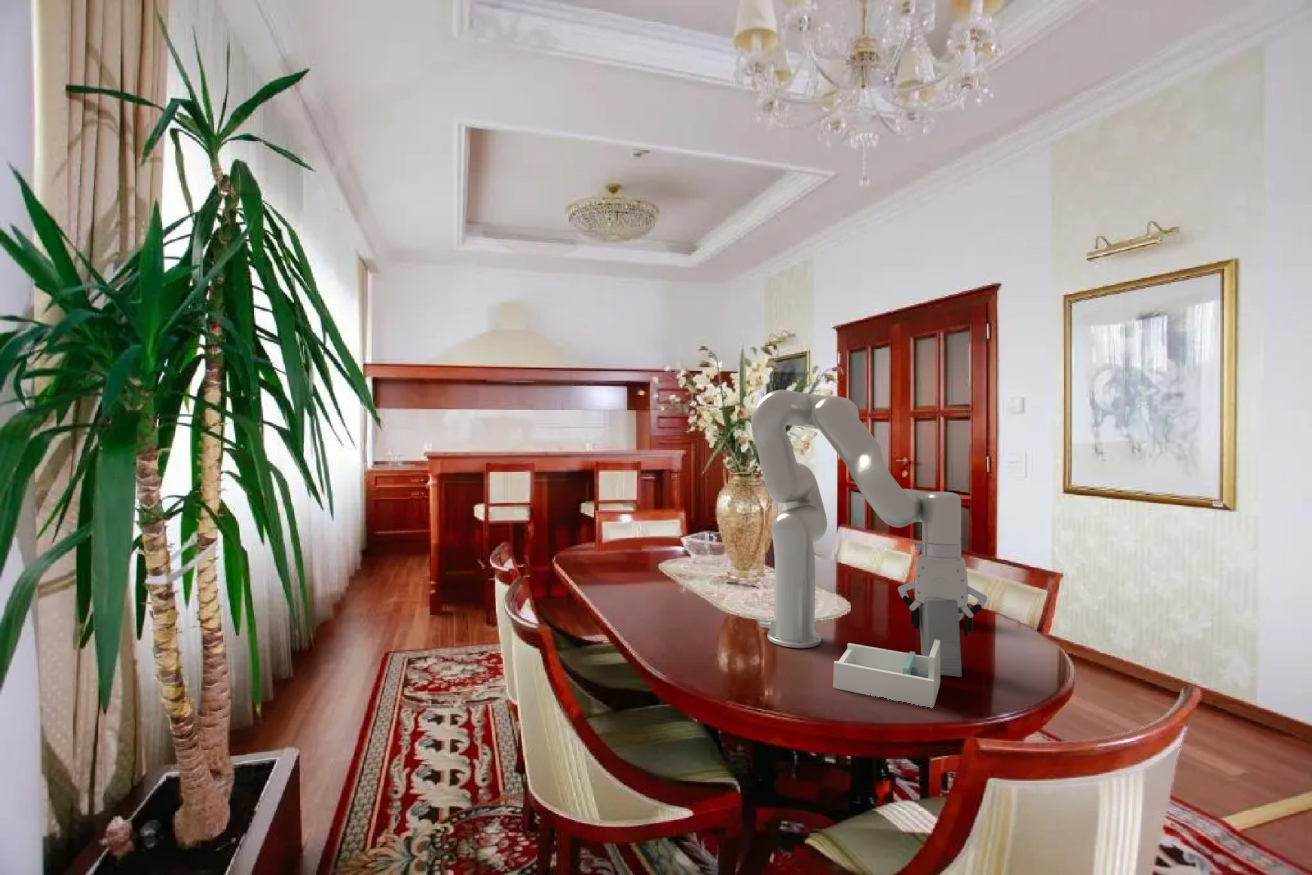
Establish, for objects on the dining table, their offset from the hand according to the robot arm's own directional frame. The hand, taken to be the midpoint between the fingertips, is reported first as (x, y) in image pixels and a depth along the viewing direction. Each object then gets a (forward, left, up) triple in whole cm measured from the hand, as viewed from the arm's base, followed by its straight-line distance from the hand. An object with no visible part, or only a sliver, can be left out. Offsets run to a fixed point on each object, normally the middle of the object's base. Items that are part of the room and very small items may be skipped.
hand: (941, 631), depth 134 cm
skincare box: (0, 0, -8) cm, 8 cm away
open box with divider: (-8, -15, -8) cm, 19 cm away
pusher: (-3, -15, -7) cm, 17 cm away
